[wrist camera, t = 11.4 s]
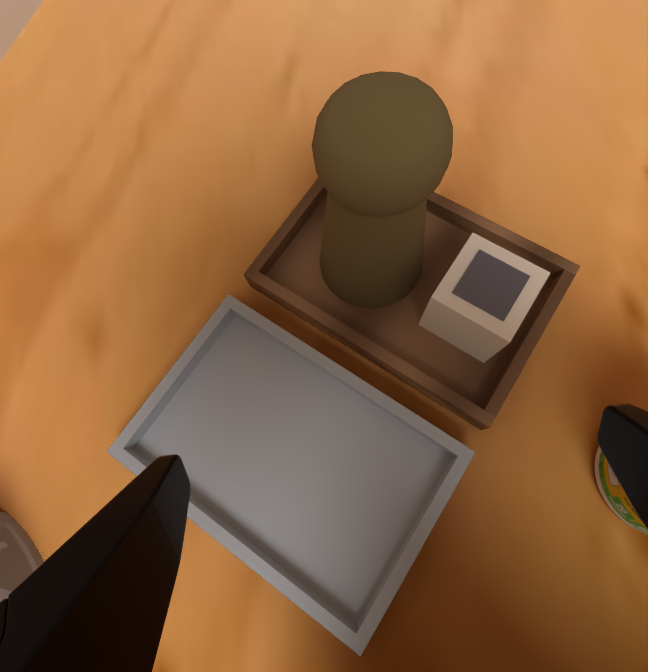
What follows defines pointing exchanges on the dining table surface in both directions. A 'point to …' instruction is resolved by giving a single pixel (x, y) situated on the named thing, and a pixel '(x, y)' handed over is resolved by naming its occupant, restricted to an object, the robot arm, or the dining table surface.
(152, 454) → the grey tray
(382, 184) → the brown rounded upright piece
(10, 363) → the dining table surface
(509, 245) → the walnut tray
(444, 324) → the beige and grey cube
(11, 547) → the dog bowl
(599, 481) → the supplement bottle
